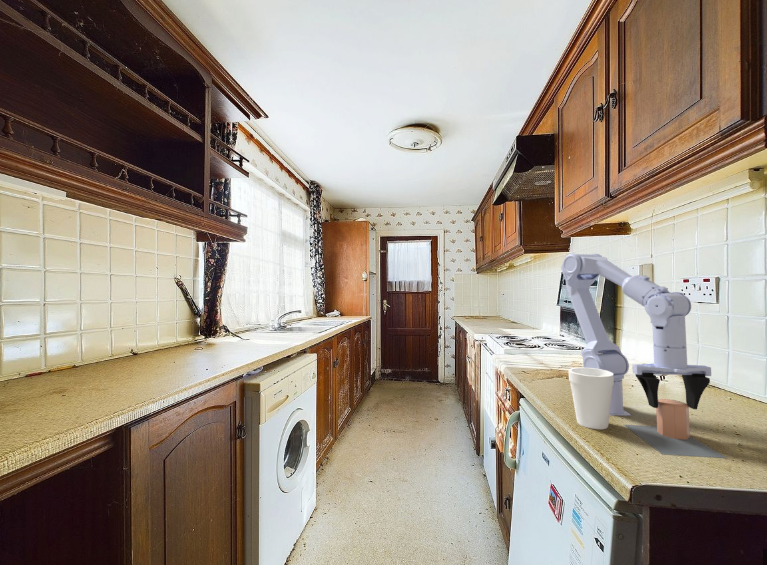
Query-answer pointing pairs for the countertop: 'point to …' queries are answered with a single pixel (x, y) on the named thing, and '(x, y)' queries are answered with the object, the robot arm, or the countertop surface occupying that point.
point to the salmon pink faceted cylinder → (673, 419)
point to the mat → (673, 443)
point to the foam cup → (591, 396)
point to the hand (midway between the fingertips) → (672, 407)
